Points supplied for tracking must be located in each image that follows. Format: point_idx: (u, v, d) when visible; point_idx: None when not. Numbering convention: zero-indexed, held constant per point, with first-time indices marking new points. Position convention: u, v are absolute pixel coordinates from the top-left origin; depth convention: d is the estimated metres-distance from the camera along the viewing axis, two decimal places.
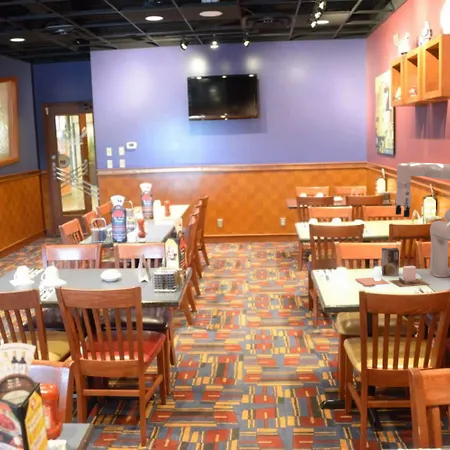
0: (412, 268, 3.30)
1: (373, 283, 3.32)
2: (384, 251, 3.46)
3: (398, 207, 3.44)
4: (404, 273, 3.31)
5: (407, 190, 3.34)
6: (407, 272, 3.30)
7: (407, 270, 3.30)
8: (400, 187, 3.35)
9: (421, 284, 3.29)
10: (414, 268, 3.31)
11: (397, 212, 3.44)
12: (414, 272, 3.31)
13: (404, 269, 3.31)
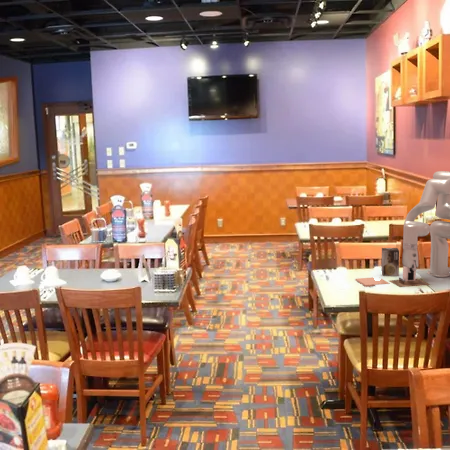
0: None
1: (373, 283, 3.32)
2: (384, 251, 3.46)
3: None
4: (404, 273, 3.31)
5: (414, 252, 3.26)
6: (407, 272, 3.30)
7: (407, 270, 3.30)
8: (407, 248, 3.27)
9: (421, 284, 3.29)
10: None
11: None
12: (414, 272, 3.31)
13: (404, 269, 3.31)
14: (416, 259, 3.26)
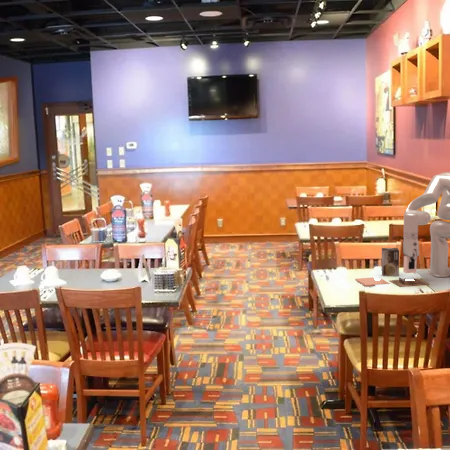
0: None
1: (373, 283, 3.32)
2: (384, 251, 3.46)
3: None
4: (405, 263, 3.31)
5: (415, 241, 3.25)
6: (408, 261, 3.29)
7: (408, 259, 3.29)
8: (407, 237, 3.26)
9: (421, 284, 3.29)
10: None
11: None
12: (415, 261, 3.30)
13: (405, 259, 3.30)
14: (417, 248, 3.25)
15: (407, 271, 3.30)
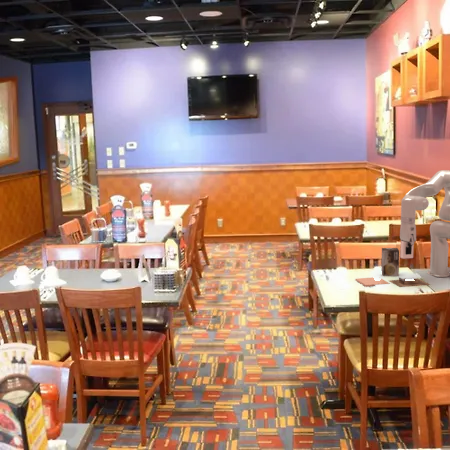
0: None
1: (373, 283, 3.32)
2: (384, 251, 3.46)
3: None
4: (402, 248, 3.29)
5: (412, 225, 3.24)
6: (405, 246, 3.28)
7: (405, 244, 3.28)
8: (405, 222, 3.25)
9: (421, 284, 3.29)
10: None
11: None
12: (412, 247, 3.29)
13: (402, 244, 3.29)
14: (414, 233, 3.24)
15: (404, 256, 3.29)
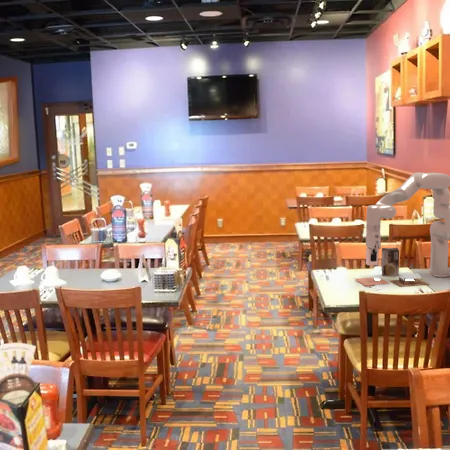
0: None
1: (373, 283, 3.32)
2: (384, 251, 3.46)
3: None
4: (367, 255, 3.34)
5: (377, 233, 3.28)
6: (370, 253, 3.33)
7: (370, 251, 3.33)
8: (370, 230, 3.30)
9: (421, 284, 3.29)
10: None
11: None
12: (377, 254, 3.34)
13: (367, 251, 3.34)
14: (378, 240, 3.29)
15: (369, 263, 3.34)
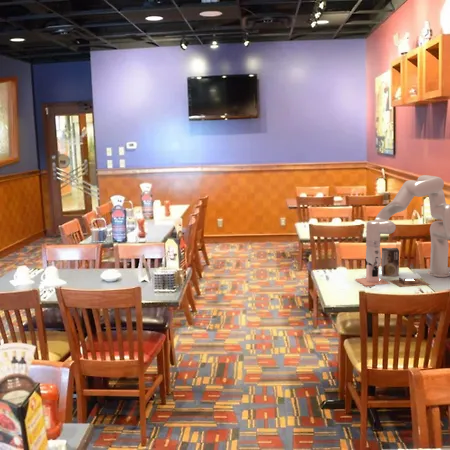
0: None
1: (373, 283, 3.32)
2: (384, 251, 3.46)
3: None
4: (367, 271, 3.36)
5: (376, 249, 3.30)
6: (370, 270, 3.35)
7: (370, 268, 3.34)
8: (369, 245, 3.31)
9: (421, 284, 3.29)
10: None
11: None
12: None
13: (367, 267, 3.35)
14: (378, 256, 3.30)
15: (369, 280, 3.35)
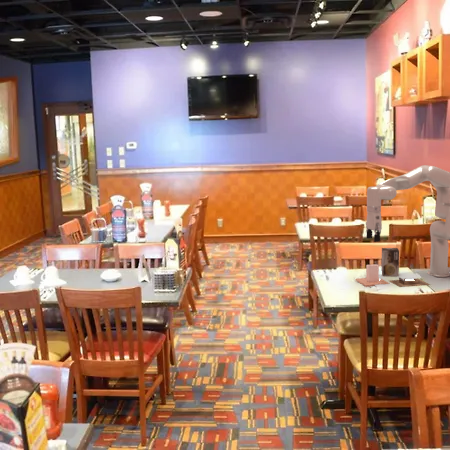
0: (375, 266, 3.35)
1: (373, 283, 3.32)
2: (384, 251, 3.46)
3: (369, 231, 3.37)
4: (367, 271, 3.36)
5: (377, 214, 3.27)
6: (370, 270, 3.35)
7: (370, 268, 3.34)
8: (370, 211, 3.28)
9: (421, 284, 3.29)
10: (377, 266, 3.35)
11: (368, 236, 3.38)
12: (377, 270, 3.35)
13: (367, 267, 3.35)
14: (379, 221, 3.27)
15: (369, 280, 3.35)
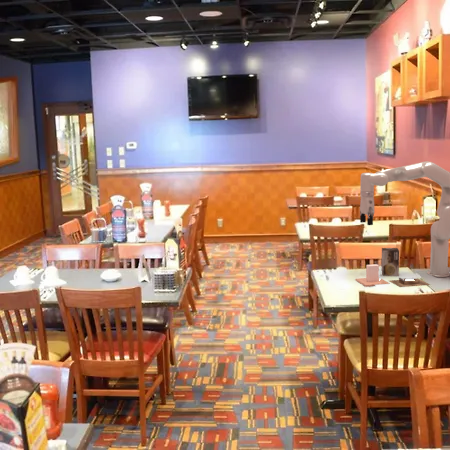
0: (375, 266, 3.35)
1: (373, 283, 3.32)
2: (384, 251, 3.46)
3: (362, 215, 3.54)
4: (367, 271, 3.36)
5: (370, 199, 3.44)
6: (370, 270, 3.35)
7: (370, 268, 3.34)
8: (363, 196, 3.45)
9: (421, 284, 3.29)
10: (377, 266, 3.35)
11: (362, 220, 3.55)
12: (377, 270, 3.35)
13: (367, 267, 3.35)
14: (372, 206, 3.44)
15: (369, 280, 3.35)
